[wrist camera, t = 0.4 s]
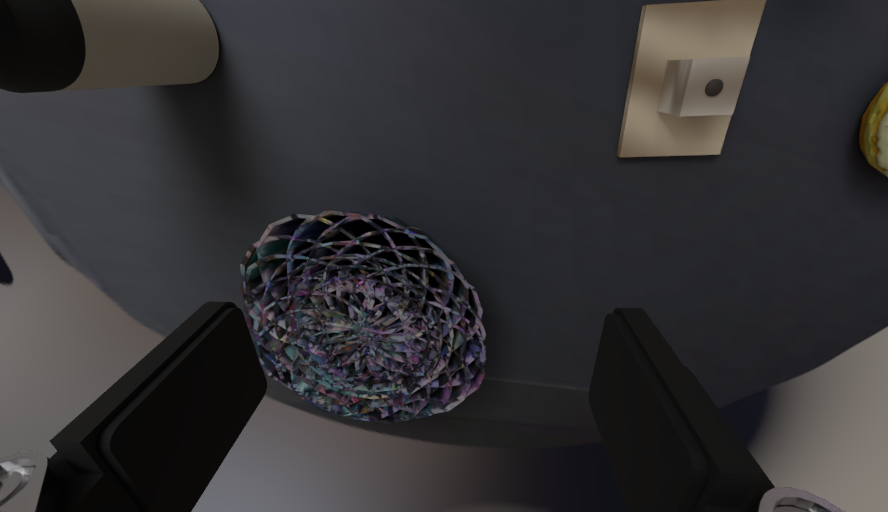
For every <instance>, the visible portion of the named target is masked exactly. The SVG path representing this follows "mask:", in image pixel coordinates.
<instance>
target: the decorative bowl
mask: <svg viewBox="0 0 888 512" xmlns="http://www.w3.org/2000/svg"><path fill="white" fill-rule="evenodd" d="M382 221H384V222H386V223H388V224H390V225H392V226H394V227H396V228H395V229H386V228H385V226H384V224H383V222H382ZM370 225H372V226H373V227H375V228H377V229H378V230H376V231H372V232H371V230H370V227H369V226H370ZM394 232H402V233H405V234H407V237H406V242H403V243H401V242H398V241H394V240H392V239H391V235H392V234H393V233H394ZM414 236H415V237H419V238H422V239H424V240H425V241H426V242H425V241H417V240H416V239H415V237H414ZM425 252H426V253H425ZM240 269H241V275H242V282H243V283H242V286H241V292H242V295H243V298H244V302H245V305H244V309H245V314H246V320H247V326H248V328H249V329H250V331H251V332H252V333H253V334H254V337H255V339H256V340H255V343H254V346H255V349H256V352H257V355H258V358H259V361H260V363H261V365H262V367H263V368H264V369H265V371H266V372H267V374H268V375H269V376H270V377H271V378H273V379H275V380H276V381H278V382H280V383H281V384H283V385H284V386H286V387H288V388H289V389H291V390H292V391H293V392H295V393H296V394H297V395H298V396H300V397H301V398H302V399H303V400H305V401H306V402H308V403H309V404H311V405H313V406H314V407H316V408H318V409H319V410H321V411H323V412H327V413H331V414H335V415H339V416H345V417H347V418H350V419H352V420H367V421H371V422H378V423H386V424H394V423H399V422H403V421H407V420H411V419H416V418H426V417H429V416H431V415H432V414H436V413H441V412H447V411H449V410H451V409H452V408H454V407H455V406H457V405H458V404H460V403H461V402H462V401H464V400H465V398H466V397H467V396H468V395H470V394H471V393H473V392H474V391H476V390H477V389H479V387H480V385H481V383H482V380H483V378H484V376H485V360H486V349H485V342H484V339H485V336H486V333H485V330H484V327H483V324H482V321H481V317H482V313H483V310H482V307H481V304H480V301H479V298H478V295H477V292H476V289H475V287H474V286H472V285H471V284H470V283H469V282H468V281H467V280H465V279H464V277H463V276H462V274H461V272H460V271H459V269H458V267H457V265H456V264H455V263H454V262H453V261H451V260H449V259H448V257H447V256H446V255H445V254H444V253H443V251H442V250H441V248H440V247H438V246H436V245H435V244H433V242H432V241H431V240H430V238H429V237H428V236H427V235H426V234H425V233H424V232H423V231H422V230H421V229H419V228H416V227H406V226H405V224H404V223H403V221H402V220H400V219H398V218H396V217H394V216H392V215H386V216H380V215H374V214H372V213H369V212H348V213H346V212H338V211H330V210H327V211H325V212H322V213H320V214H318V215H315V216H312V215H302V214H293V215H291V216H288V217H286V218H283V219H281V220H279V221H276V222H274V223H271V224H269V225H268V227H267V229H266V230H265V232H264V234H263V235H262V237H261V239H260V241H258V242H256V243H254V244H252V245H251V246H250V248H249V250H248V252H247V254H246V255H245V257H244V259H243V261H242V263H241V265H240Z"/></svg>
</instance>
